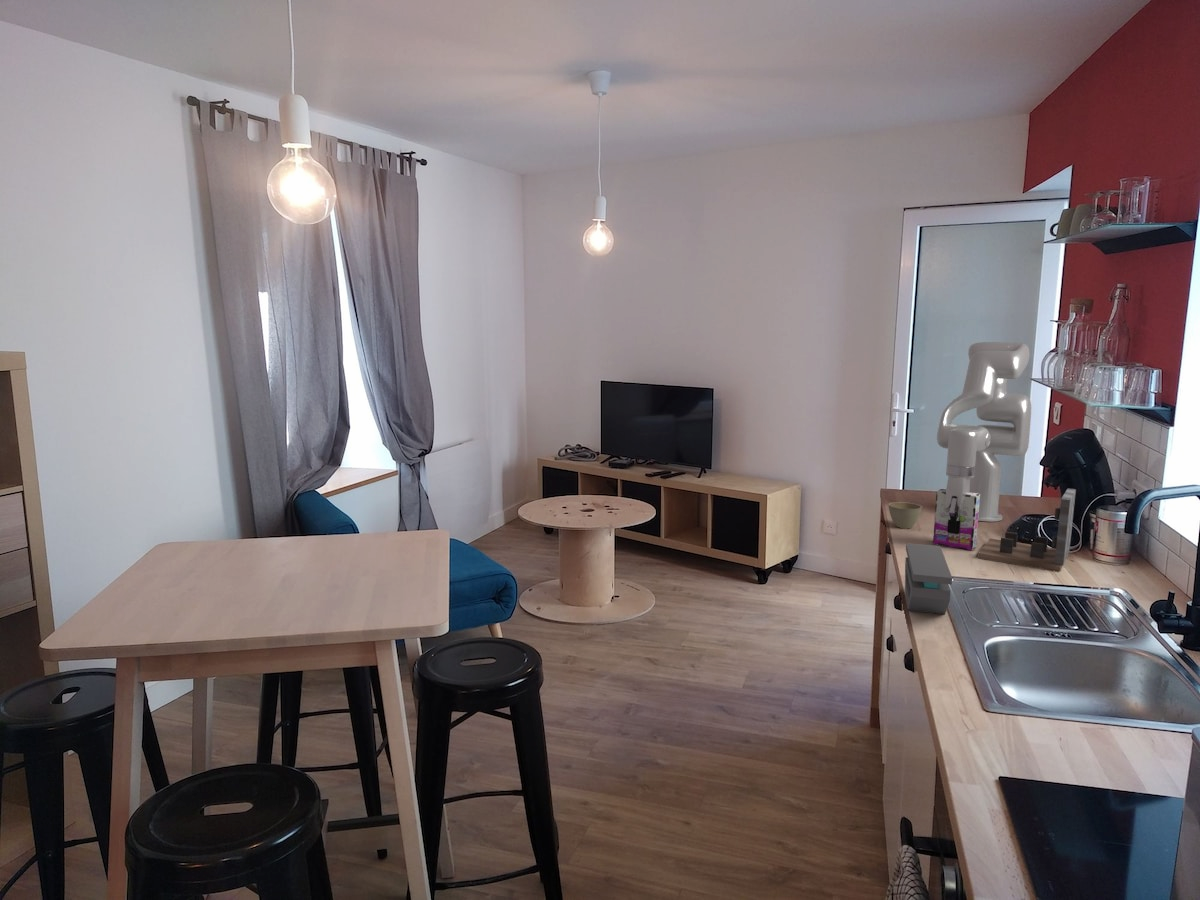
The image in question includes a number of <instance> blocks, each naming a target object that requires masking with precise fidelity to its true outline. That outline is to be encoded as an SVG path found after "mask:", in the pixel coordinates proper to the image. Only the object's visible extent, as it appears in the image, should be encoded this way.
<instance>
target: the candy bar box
mask: <svg viewBox="0 0 1200 900" xmlns="http://www.w3.org/2000/svg"><path fill="white" fill-rule="evenodd" d="M935 495H936V496H935V510H934V512H935V513H934V524H933V538H932V544H933V545H936V544H938V545H937V546H942V545H943V547H948V548H949V547H950V548H954V549H960V550H967V551H973V550H975V549H976V548H977V542H978V528H979V521H978V517H979V504H980V493H972V492H968V493H967V494H966V495H965V503H964V508H963V510H962V511H960V518H959V521H960V532H959V534H953V533H948V532H947V529H948V518H949V511H950V507H949V508H948V509H945V508H944V504H945V496H946V489H944V488H941V489H938V490H937V491H936V493H935ZM958 509H959V508H956V509H955V510H958ZM955 513H958V512H955Z"/></svg>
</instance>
